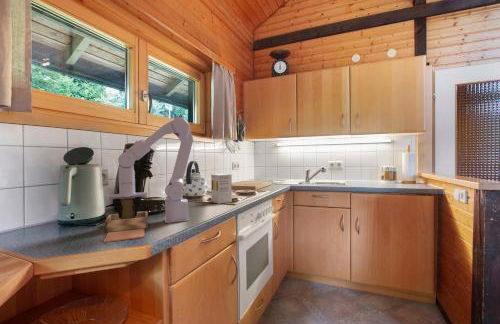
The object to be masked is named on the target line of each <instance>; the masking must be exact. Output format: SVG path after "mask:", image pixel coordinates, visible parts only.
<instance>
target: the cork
mask: <svg viewBox="0 0 500 324" xmlns="http://www.w3.org/2000/svg"><path fill="white" fill-rule="evenodd" d="M120 204H121V220H122V219H132V218H135V213H134V212H135V198H129V199H121V202H120Z"/></svg>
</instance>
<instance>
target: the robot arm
mask: <svg viewBox="0 0 500 324" xmlns="http://www.w3.org/2000/svg"><path fill="white" fill-rule="evenodd" d="M170 134H171V135H172V134H174V135H175V136H176V137H177V138H178V140H179V141H180V145H179V148H178V152H177V156H176V159H175V163H174V167H173V171H172V174H171V177H170V179H169V181H168V183H167V185H166V186H165V189H164V193H165V195H166V198H164V201H165V203H164V205H165V207H164V208H165V217H164V218H163V220H164V223H165V224H171V223H179V222H187V221H190V219H189V202H188V201H189V200H188V199H187V198H184V197H183V196H184V190H183V187H184V178H185V172H186V169H187V165H188V162H189V157H190V154H191V150H192V147H193V143H194V138H193V134H192V131H191V125H190V123H189V121H188V120H187V119H185V117H182V116H177V117H175V118H174V119H173V120H170V121H169V122H167V123H165V124H164V125H162V126H161V127H160V128H159V129H157V130H156V131H155V132H154V133H152V134H151V135H150V136H149V137H148V138H146V139H140V140H136V141H135V142H134V144H133V145H131V147H129V148H128V149H127V148H126V149H124V151H125V152H122V153H121V154H119V156H118V159H117V161H118V164H119V167H118V188H119V189H118V190H119V192H118V193H115V194H107V195H106V198H105V199H106V201H112V204H113V206H114V208H115V209H116V211H117V214H118V215H119V218H121V212H122V206H121V204H120V202H121V200H122V199H129V198H132V199H134V200H135V205H134V212H135V216H137V212H138V210H139V206H140V205H141V204H140V203H141V202H142V199H143V198H144V199H145V198H148V192H147V191H146V192H144V191H143V192H136V178H135V177H136V176H135V175H136V171H135V168H134V165H135V162H136V161H139V160H140V159H142V158H143V157H144V156H145V155H147V153H148V154H149V152H150V151H151V147H152V146H153V145H154V144H155V143H157V142H158V141H159V140H160V139H162V138H163V137H164V136H166V135H170Z"/></svg>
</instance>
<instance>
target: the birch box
mask: <svg viewBox="0 0 500 324" xmlns="http://www.w3.org/2000/svg"><path fill="white" fill-rule="evenodd" d="M134 213H135V211H134ZM148 218H149V216H148V210H147V211H146V210H145V211H137V216H135V218H132V219H122V220H121V218H119V215H118V213H114V214H113V213H112V214H111V213H110V214H108V216H107V217H106V219H105V221H104V233H106V234H107V233H110V232H119V231H128V230H136V229H148V228H149V222H148V221H149V219H148Z"/></svg>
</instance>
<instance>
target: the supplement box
mask: <svg viewBox="0 0 500 324" xmlns="http://www.w3.org/2000/svg"><path fill="white" fill-rule="evenodd" d="M232 176H233V175H232V174H229V173H212V174H210V179H211V181H210V184H211V188H210V189H211V190H210V191H211V192H210V193H211V195H210V196H211V203H215V204H218V205H220V204H227V203H232V202H233V197H232V196H233V193H232V190H233V189H232V187H233V185H232V183H233V182H232V180H233V179H232Z"/></svg>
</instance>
